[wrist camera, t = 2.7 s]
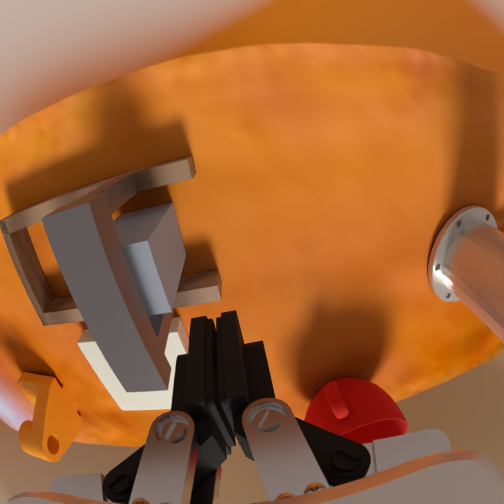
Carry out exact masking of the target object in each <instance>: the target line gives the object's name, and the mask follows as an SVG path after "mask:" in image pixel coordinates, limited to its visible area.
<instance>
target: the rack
mask: <svg viewBox="0 0 504 504" xmlns="http://www.w3.org/2000/svg"><path fill="white" fill-rule="evenodd" d="M130 174H133V178H134V182H135V186H136V190H137V192H140V191H144V190H148V189H152V188H156V187H160V186H164V185H168V184H173V183H177V182H181V181H186V180H190V179H192V178H193V177H194V175H195V174H196V171H195V166H194V162H193V157H192V156H189V157H185V158H180V159H176V160H172V161H168V162H164V163H160V164H156V165H152V166H148V167H145V168H141V169H137V170H134V171H130V172H127V173H123V174H120V175H117V176H113V177H110V178H107V179H104V180H101V181H97V182H94V183H91V184H88V185H85V186H82V187H79V188H76V189H74V190H71V191H68V192H65V193H62V194H60V195H57V196H54V197H52V198H49V199H46V200H44V201H41V202H39V203H36V204H34V205H31V206H29V207H26V208H24V209H22V210H19V211H17V212H15V213H13V214H11V215H9V216H8V217H6V218H4V219H2V220H1V221H0V228H1V231H2V234H3V237H4V240H5V242H6V245H7V248H8V250H9V253H10V255H11V258H12V260H13V263H14V265H15V268H16V270H17V272H18V275H19V277H20V279H21V281H22V284H23V286H24V288H25V290H26V292H27V294H28V296H29V298H30V300H31V302H32V304H33V306H34V308H35V310H36V312H37V314H38V316H39V318H40V320H41V322H42V323H43V325H44V326H45V325H55V324H64V323H72V322H81V321H84V320H83V318H82V316H81V314H80V312H79V310H78V308H77V306H76V303H75V301H74V299H73V297H72V296H67V297H61V298H55V297H54V295H53V293H52V290H51V288H50V286H49V284H48V282H47V279H46V277H45V275H44V272H43V270H42V268H41V265H40V263H39V260H38V258H37V255H36V253H35V250H34V248H33V245H32V242H31V240H30V237H29V234H28V231H27V228H26V227H28V226H31V225H33V224H36V223H39V222H42V219H41V218H43V217H44V216H46V215H48V214H49V213H51V212H53V211H54V210H56V209H58V208H59V207H62V206H64V205H67V204H70V203H72V202H74V201H75V200H77V199H79V198H81V197H82V196H84V195H86V194H88V193H89V192H91V191H93V190H95V189H97V188H99V187H100V186H102V185H104V184H106V183H108V182H110V181H112V180H114V179H116V178H119V177H123V176H126V175H130ZM221 287H222V283H221V279H220V275H219V271H218V269H216V270H211V271H206V272H200V273H195V274H189V275H184V276H181V277H180V281H179V285H178V289H177V293H176V297H175V301H174V305H173V308H179V307H185V306H191V305H197V304H203V303H209V302H215V301H220V300H221Z"/></svg>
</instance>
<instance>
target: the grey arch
mask: <svg viewBox="0 0 504 504" xmlns="http://www.w3.org/2000/svg"><path fill="white" fill-rule="evenodd" d="M136 193H137V190H136V186H135V182H134V178H133V174H130V175H126V176H123V177H119V178H116V179H114V180H112V181H110V182H108V183H106V184H104V185H102V186H100V187H99V188H97V189H95V190H93V191H91V192H89V193H88V194H86V195H84V196H82V197H81V198H79V199H77V200H75V201H74V202H72V203H70V204H67V205H64V206H62V207H59V208H58V209H56V210H54V211H53V212H51V213H49V214H48V215H46V216H44V217H43V218H41V219H42V222H43V225H44V228H45V231H46V233H47V236H48V239H49V242H50V245H51V247H52V250H53V253H54V255H55V258H56V260H57V263H58V265H59V268H60V270H61V272H62V275H63V277H64V279H65V282H66V284H67V286H68V288H69V291H70V293H71V295H72V297H73V299H74V301H75V303H76V306H77V308H78V310H79V312H80V314H81V316H82V318H83V320H84V322H85V323H86V325H87V327H88V329H89V331H90V333H91V335H92V337H93V338H94V340H95V342H96V344H97V346H98V347H99V349H100V351H101V352H102V354H103V356H104V358H105V359H106V361H107V363H108V364H109V366H110V367H111V369H112V371H113V372H114V374H115V375H116V377H117V379H118V380H119V382H120V383H121V385H122V386H123V388H124V389H125V391H126V392H149V391H164V390H168V387H169V381H170V375H171V366H170V364H169V362H168V360H167V358H166V356H165V349H166V344H167V339H168V335H169V330H170V326H171V321H172V317H173V313H174V309H172V312H169V313H162V314H156V315H149V316H147V313H146V311H145V308H144V306H143V303H142V301H141V299H140V296H139V293H138V291H137V288H136V286H135V283H134V281H133V278H132V275H131V272H130V270H129V267H128V264H127V261H126V259H125V256H124V253H123V250H122V247H121V244H120V241H119V238H118V235H117V232H116V229H115V225H114V222H113V219H112V216H111V214H112V213H113V212H114V211H116V210H117V209H118V208H119V207H120V206H122V205H123V204H124V203H125V202H127V201H128V200H129V199H130V198H131V197H133V196H134V195H135V194H136Z"/></svg>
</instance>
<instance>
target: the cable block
mask: <svg viewBox="0 0 504 504" xmlns="http://www.w3.org/2000/svg"><path fill="white" fill-rule="evenodd" d="M113 222H114V225H115V229H116V232H117V235H118V238H119V241H120V244H121V247H122V250H123V253H124V256H125V259H126V261H127V264H128V267H129V270H130V272H131V275H132V278H133V281H134V283H135V286H136V288H137V291H138V293H139V296H140V299H141V301H142V303H143V306H144V308H145V311H146V313H147V316H149V315H156V314H162V313H169V312H172V309H173V305H174V301H175V297H176V293H177V289H178V285H179V281H180V277H181V273H182V270H183V266H184V262H185V258H186V255H187V254H186V251H185V247H184V244H183V240H182V236H181V232H180V229H179V225H178V221H177V217H176V213H175V209H174V205H173V202H170V203H166V204H162V205H158V206H153V207H149V208H145V209H141V210H137V211H133V212H129V213H125V214H121V215H120V216H119V217H118V218H117V219H115V220H114V221H113Z"/></svg>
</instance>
